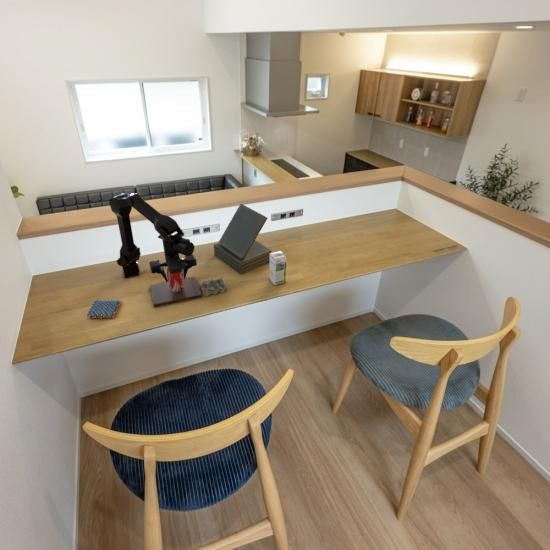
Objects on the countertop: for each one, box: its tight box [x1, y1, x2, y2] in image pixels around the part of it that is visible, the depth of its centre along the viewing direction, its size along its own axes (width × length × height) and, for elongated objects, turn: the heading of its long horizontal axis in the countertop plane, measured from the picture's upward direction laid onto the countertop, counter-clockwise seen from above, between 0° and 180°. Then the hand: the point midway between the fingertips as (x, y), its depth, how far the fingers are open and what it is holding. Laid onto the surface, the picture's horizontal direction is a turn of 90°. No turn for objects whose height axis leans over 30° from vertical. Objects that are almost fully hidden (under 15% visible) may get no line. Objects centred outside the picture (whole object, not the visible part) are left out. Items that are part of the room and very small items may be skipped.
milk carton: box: [269, 250, 287, 286], centre depth 166 cm, size 6×6×14 cm
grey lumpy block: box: [199, 277, 227, 297], centre depth 162 cm, size 11×8×4 cm
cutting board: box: [149, 276, 202, 308], centre depth 160 cm, size 20×15×2 cm
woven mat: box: [86, 299, 121, 320], centre depth 149 cm, size 10×11×2 cm
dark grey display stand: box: [213, 203, 272, 275], centre depth 180 cm, size 23×20×25 cm
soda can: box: [166, 267, 184, 292], centre depth 157 cm, size 7×7×12 cm
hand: (175, 280), depth 158 cm, fingers closed on soda can, 7 cm apart
